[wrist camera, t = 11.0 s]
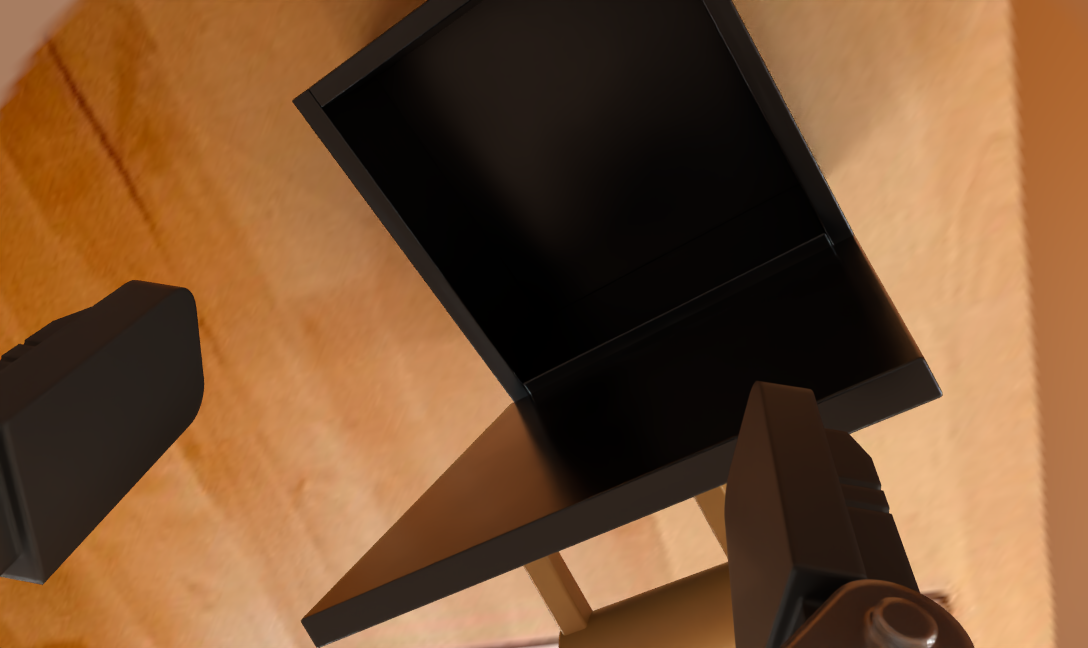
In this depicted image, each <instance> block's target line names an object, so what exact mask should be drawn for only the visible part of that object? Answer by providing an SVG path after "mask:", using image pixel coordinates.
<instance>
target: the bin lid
mask: <svg viewBox="0 0 1088 648" xmlns="http://www.w3.org/2000/svg"><path fill="white" fill-rule="evenodd" d="M756 381H762V382H768V383H775V384H781V385H787V386H793V387H800V388H806V389H811V390H812V391H813V393H814V395H815V399H816V402H817V406H818V409H819V413H820V416H821V420H822V423H823V426H824V428H826V429H833V430H839V431H845V432H848V433H849V434H851V433H853V432H856V431H858V430H861V429H863V428H866V427H868V426H871V425H873V424H875V423H878V422H880V421H883V420H885V419H888V418H890V417H893V416H895V415H898V414H900V413H903V412H905V411H908V410H910V409H913V408H915V407H918V406H920V405H923V404H925V403H928V402H930V401H933V400H935V399H937V398H940V397H941V396H942V391H941V389H940V387H939V385H938V383H937V381H936V379H935V377H934V376H933V374H932V372H931V370H930V368H929V366H928V364H927V362H926V360H925V358H924V357H923V355H922V353H921V351H920V350H919V348H918V346H917V344H916V343H915V341H914V339H913V337H912V335H911V334H910V332H909V330H908V328H907V327H906V325H905V323H904V321H903V320H902V318H901V316H900V314H899V313H898V311H897V309H896V307H895V305H894V304H893V302H892V300H891V298H890V297H889V295H888V293H887V291H886V290H885V288H884V286H883V284H882V283H881V281H880V279H879V277H878V275H877V274H876V272H875V270H874V268H873V267H872V265H871V263H870V261H869V260H868V258H867V256H866V254H865V253H864V251H863V249H862V247H861V245H860V244H859V242H858V240H857V238H856V237H855V236H851V237H849V238H847V239H845V240H843V241H841V242H839V243H837V244H835V245H833V246H831V247H829V248H827V249H825V250H823V251H821V252H818V253H816V254H814V255H812V256H810V257H808V258H806V259H804V260H802V261H800V262H798V263H796V264H794V265H792V266H790V267H788V268H786V269H784V270H782V271H780V272H778V273H776V274H774V275H772V276H770V277H768V278H766V279H764V280H762V281H760V282H758V283H756V284H753V285H751V286H749V287H747V288H745V289H743V290H741V291H739V292H737V293H735V294H733V295H731V296H729V297H727V298H725V299H723V300H721V301H719V302H717V303H715V304H713V305H711V306H709V307H707V308H705V309H703V310H701V311H699V312H697V313H695V314H693V315H690V316H688V317H686V318H684V319H682V320H680V321H678V322H676V323H674V324H672V325H670V326H668V327H666V328H664V329H662V330H660V331H658V332H656V333H654V334H652V335H650V336H648V337H646V338H644V339H642V340H640V341H638V342H636V343H634V344H632V345H630V346H627V347H625V348H623V349H621V350H619V351H617V352H615V353H613V354H611V355H609V356H607V357H605V358H603V359H601V360H599V361H597V362H595V363H593V364H591V365H589V366H587V367H585V368H583V369H581V370H579V371H577V372H575V373H573V374H571V375H569V376H567V377H565V378H562V379H560V380H558V381H556V382H554V383H552V384H550V385H548V386H546V387H544V388H542V389H540V390H538V391H536V392H534V393H532V394H530V395H528V396H526V397H524V398H522V399H520V400H518V401H516V402H514V403H512V404H510V405H509V406H508V407H507V408H506V409H505V410H504V412H503V413H502V414H501V415H500V416H499V417H498V418H497V419H496V420H495V421H494V422H493V423H492V424H491V425H490V426H489V427H488V428H487V429H486V430H485V431H484V432H483V433H482V434H481V435H480V436H479V437H478V438H477V439H476V440H475V441H474V442H473V443H472V444H471V446H470V447H469V448H468V449H467V450H466V451H465V452H464V453H463V454H462V455H461V456H460V457H459V458H458V459H457V460H456V461H455V462H454V463H453V464H452V465H451V466H450V467H449V468H448V469H447V470H446V471H445V472H444V473H443V474H442V475H441V476H440V477H439V478H438V479H437V481H436V482H435V483H434V484H433V485H432V486H431V487H430V488H429V489H428V490H427V491H426V492H425V493H424V494H423V495H422V496H421V497H420V498H419V499H418V500H417V501H416V502H415V503H414V504H413V505H412V506H411V507H410V508H409V509H408V510H407V511H406V512H405V513H404V515H403V516H402V517H401V518H400V519H399V520H398V521H397V522H396V523H395V524H394V525H393V526H392V527H391V528H390V529H389V530H388V531H387V532H386V533H385V534H384V535H383V536H382V537H381V538H380V539H379V540H378V541H377V542H376V543H375V544H374V545H373V546H372V547H371V548H370V550H369V551H368V552H367V553H366V554H365V555H364V556H363V557H362V558H361V559H360V560H359V561H358V562H357V563H356V564H355V565H354V566H353V567H352V568H351V569H350V570H349V571H348V572H347V573H346V574H345V575H344V576H343V577H342V578H341V579H340V580H339V581H338V582H337V584H336V585H335V586H334V587H333V588H332V589H331V590H330V591H329V592H328V593H327V594H326V595H325V596H324V597H323V598H322V599H321V600H320V601H319V602H318V603H317V604H316V605H315V606H314V607H313V608H312V609H311V610H310V611H309V612H308V613H307V614H306V615H305V616H304V617H303V619H302V620H301V623H302V624H303V626H304V628H305V629H306V631H307V633H308V634H309V636H310V638H311V639H312V641H313V643H314V644H315V646H316V647H317V648H320V647H323V646H325V645H327V644H330V643H332V642H335V641H337V640H340V639H342V638H345V637H347V636H350V635H352V634H355V633H357V632H360V631H362V630H365V629H367V628H370V627H372V626H375V625H377V624H380V623H382V622H384V621H387V620H389V619H392V618H394V617H397V616H399V615H402V614H404V613H407V612H409V611H412V610H414V609H417V608H419V607H422V606H424V605H427V604H429V603H432V602H434V601H437V600H439V599H442V598H444V597H446V596H449V595H451V594H454V593H456V592H459V591H461V590H464V589H466V588H469V587H471V586H474V585H476V584H479V583H481V582H484V581H486V580H489V579H491V578H494V577H496V576H499V575H501V574H504V573H506V572H508V571H511V570H513V569H516V568H518V567H521V566H524V568H525V570H526V571H527V573H528V575H529V577H530V578H531V580H532V582H533V584H534V585H535V587H536V589H537V590H538V592H539V594H540V596H541V597H542V599H543V601H544V603H545V604H546V606H547V608H548V610H549V611H550V613H551V615H552V616H553V618H554V620H555V622H556V623H557V625H558V627H559V629H560V634H559V648H736V646H735V635H734V623H733V611H732V600H731V588H730V576H729V565H728V562H726V563H723V564H721V565H718V566H715V567H712V568H710V569H707V570H704V571H701V572H699V573H696V574H693V575H690V576H688V577H685V578H682V579H679V580H677V581H674V582H671V583H669V584H666V585H663V586H660V587H658V588H655V589H652V590H649V591H647V592H644V593H641V594H638V595H636V596H633V597H630V598H628V599H625V600H622V601H619V602H617V603H614V604H611V605H608V606H606V607H603V608H600V609H597V610H595V611H592V609H591V607H590V606H589V604H588V602H587V600H586V599H585V597H584V595H583V593H582V592H581V590H580V588H579V586H578V585H577V583H576V581H575V579H574V578H573V576H572V574H571V572H570V571H569V569H568V567H567V565H566V564H565V562H564V560H563V558H562V557H561V555H560V553H559V551H561V550H563V549H566V548H568V547H570V546H573V545H575V544H578V543H580V542H583V541H585V540H588V539H590V538H593V537H595V536H598V535H600V534H603V533H605V532H608V531H610V530H613V529H615V528H618V527H620V526H623V525H625V524H628V523H630V522H632V521H635V520H637V519H640V518H642V517H645V516H647V515H650V514H652V513H655V512H657V511H660V510H662V509H665V508H667V507H670V506H672V505H675V504H677V503H680V502H682V501H685V500H687V499H689V498H692V497H694V498H695V500H696V502H697V504H698V506H699V507H700V509H701V511H702V513H703V515H704V516H705V518H706V520H707V522H708V524H709V525H710V527H711V529H712V531H713V533H714V534H715V536H716V538H717V540H718V542H719V543H720V545H721V547H722V549H723V551H724V552H725V554H726V556H727V558H728V553H727V542H726V530H725V518H724V505H725V493H726V485H727V479H728V474H729V470H730V466H731V463H732V459H733V455H734V451H735V447H736V444H737V440H738V436H739V432H740V428H741V425H742V421H743V417H744V413H745V409H746V406H747V402H748V398H749V395H750V392H751V389H752V386H753V384H754V383H755V382H756Z"/></svg>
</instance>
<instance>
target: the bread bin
mask: <svg viewBox="0 0 1088 648" xmlns="http://www.w3.org/2000/svg"><path fill="white" fill-rule="evenodd" d="M292 102H293V103H294V104H295V106H296V107H297V109H298V110H299V111H300V113H301V114H302V115H303V117H304V118H305V119H306V121H307V122H308V123H309V125H310V126H311V127H312V129H313V130H314V132H315V133H316V134H317V136H318V137H319V138H320V140H321V141H322V142H323V144H324V145H325V146H326V148H327V149H328V151H329V152H330V153H331V155H332V156H333V157H334V159H335V160H336V161H337V163H338V164H339V165H340V167H341V168H342V169H343V171H344V172H345V174H346V175H347V176H348V178H349V179H350V180H351V182H352V183H353V184H354V186H355V187H356V188H357V190H358V191H359V192H360V194H361V195H362V197H363V198H364V199H365V201H366V202H367V203H368V205H369V206H370V207H371V209H372V210H373V211H374V213H375V214H376V216H377V217H378V218H379V220H380V221H381V222H382V224H383V225H384V226H385V228H386V229H387V230H388V232H389V233H390V234H391V236H392V237H393V239H394V240H395V241H396V243H397V244H398V245H399V247H400V248H401V249H402V251H403V252H404V253H405V255H406V256H407V258H408V259H409V260H410V262H411V263H412V264H413V266H414V267H415V268H416V270H417V271H418V272H419V274H420V275H421V276H422V278H423V279H424V281H425V282H426V283H427V285H428V286H429V287H430V289H431V290H432V291H433V293H434V294H435V295H436V297H437V298H438V299H439V301H440V302H441V304H442V305H443V306H444V308H445V309H446V310H447V312H448V313H449V314H450V316H451V317H452V318H453V320H454V321H455V323H456V324H457V325H458V327H459V328H460V329H461V331H462V332H463V333H464V335H465V336H466V337H467V339H468V340H469V341H470V343H471V344H472V346H473V347H474V348H475V350H476V351H477V352H478V354H479V355H480V356H481V358H482V359H483V360H484V362H485V363H486V365H487V366H488V367H489V369H490V370H491V371H492V373H493V374H494V375H495V377H496V378H497V379H498V381H499V382H500V383H501V385H502V386H503V388H504V389H505V390H506V392H507V393H508V394H509V396H510V397H511V398H512V400H513V401H514V402H516V401H518V400H520V399H522V398H524V397H526V396H528V395H530V394H532V393H534V392H536V391H538V390H540V389H542V388H544V387H546V386H548V385H550V384H552V383H554V382H556V381H558V380H560V379H562V378H565V377H567V376H569V375H571V374H573V373H575V372H577V371H579V370H581V369H583V368H585V367H587V366H589V365H591V364H593V363H595V362H597V361H599V360H601V359H603V358H605V357H607V356H609V355H611V354H613V353H615V352H617V351H619V350H621V349H623V348H625V347H627V346H630V345H632V344H634V343H636V342H638V341H640V340H642V339H644V338H646V337H648V336H650V335H652V334H654V333H656V332H658V331H660V330H662V329H664V328H666V327H668V326H670V325H672V324H674V323H676V322H678V321H680V320H682V319H684V318H686V317H688V316H690V315H693V314H695V313H697V312H699V311H701V310H703V309H705V308H707V307H709V306H711V305H713V304H715V303H717V302H719V301H721V300H723V299H725V298H727V297H729V296H731V295H733V294H735V293H737V292H739V291H741V290H743V289H745V288H747V287H749V286H751V285H753V284H756V283H758V282H760V281H762V280H764V279H766V278H768V277H770V276H772V275H774V274H776V273H778V272H780V271H782V270H784V269H786V268H788V267H790V266H792V265H794V264H796V263H798V262H800V261H802V260H804V259H806V258H808V257H810V256H812V255H814V254H816V253H818V252H821V251H823V250H825V249H827V248H829V247H831V246H833V245H835V244H837V243H839V242H841V241H843V240H845V239H847V238H849V237H851V236H855V235H854V233H853V231H852V229H851V227H850V225H849V223H848V222H847V220H846V218H845V216H844V214H843V212H842V210H841V208H840V206H839V204H838V202H837V201H836V199H835V197H834V195H833V193H832V191H831V189H830V187H829V185H828V183H827V181H826V180H825V178H824V176H823V174H822V172H821V170H820V168H819V166H818V164H817V162H816V160H815V159H814V157H813V155H812V153H811V151H810V149H809V147H808V145H807V143H806V141H805V139H804V137H803V136H802V134H801V132H800V130H799V128H798V126H797V124H796V122H795V120H794V118H793V116H792V115H791V113H790V111H789V109H788V107H787V105H786V103H785V101H784V99H783V97H782V95H781V94H780V92H779V90H778V88H777V86H776V84H775V82H774V80H773V78H772V76H771V74H770V73H769V71H768V69H767V67H766V65H765V63H764V61H763V59H762V57H761V55H760V53H759V51H758V50H757V48H756V46H755V44H754V42H753V40H752V38H751V36H750V34H749V32H748V30H747V29H746V27H745V25H744V23H743V21H742V19H741V17H740V15H739V13H738V11H737V9H736V8H735V6H734V4H733V2H732V0H427V1H426V2H425V3H423V4H422V5H421V6H419V7H418V8H416V9H415V10H414V11H412V12H411V13H410V14H408V15H407V16H406V17H404V18H403V19H402V20H400V21H399V22H398V23H396V24H395V25H393V26H392V27H391V28H389V29H388V30H387V31H385V32H384V33H383V34H381V35H380V36H379V37H377V38H376V39H375V40H373V41H372V42H371V43H369V44H368V45H366V46H365V47H364V48H362V49H361V50H360V51H358V52H357V53H356V54H354V55H353V56H352V57H350V58H349V59H348V60H346V61H345V62H344V63H342V64H341V65H339V66H338V67H337V68H335V69H334V70H333V71H331V72H330V73H329V74H327V75H326V76H325V77H323V78H322V79H321V80H319V81H318V82H316V83H315V84H314V85H312V86H311V87H310V88H309V89H307V90H306V91H304V92H303V93H302V94H300V95H299V96H298V97H296V98H295V99H293V101H292Z"/></svg>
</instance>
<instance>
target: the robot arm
mask: <svg viewBox="0 0 1088 648" xmlns="http://www.w3.org/2000/svg"><path fill="white" fill-rule="evenodd" d="M203 392H204V376H203V366H202V357H201V347H200V338H199V328H198V319H197V310H196V303H195V299H194V297H193V295H192V293H191V292H190V291H189V290H188V289H186V288H183V287H177V286H170V285H164V284H158V283H152V282H145V281H139V280H132V281H129V282H127V283H126V284H124V285H123V286H121V287H120V288H118V289H117V290H115V291H114V292H113V293H111V294H110V295H108V296H107V297H105V298H104V299H103V300H101V301H100V302H98V303H97V304H95V305H94V306H93V307H90V308H87V309H84V310H82V311H79V312H76V313H73V314H71V315H68V316H65V317H63V318H60V319H57V320H55V321H52V322H51V323H49V324H48V325H46V326H45V327H43V328H42V329H41V330H39V331H38V332H36V333H35V334H33V335H32V336H30V337H29V338H27V339H26V340H25V343H24V345H22V344H18V345H17V346H15V347H14V348H12V349H11V350H9V351H8V352H7V353H5V354H4V355H2V358H1V360H0V577H5V578H11V579H16V580H21V581H26V582H32V583H37V584H42V585H43V584H44V583H45V582H46V581H47V580H48V578H49V577H50V576H51V575H52V574H53V573H54V572H55V571H56V570H57V569H58V568H59V567H60V565H61V564H62V563H63V562H64V561H65V560H66V559H67V558H68V557H69V556H70V555H71V553H72V552H73V551H74V550H75V549H76V548H77V547H78V546H79V545H80V544H81V543H82V542H83V540H84V539H85V538H86V537H87V536H88V535H89V534H90V533H91V532H92V531H93V530H94V529H95V527H96V526H97V525H98V524H99V523H100V522H101V521H102V520H103V519H104V518H105V517H106V516H107V514H108V513H109V512H110V511H111V510H112V509H113V508H114V507H115V506H116V505H117V504H118V503H119V501H120V500H121V499H122V498H123V497H124V496H125V495H126V494H127V493H128V492H129V491H130V489H131V488H132V487H133V486H134V485H135V484H136V483H137V482H138V481H139V480H140V479H141V478H142V476H143V475H144V474H145V473H146V472H147V471H148V470H149V469H150V468H151V467H152V466H153V465H154V463H155V462H156V461H157V460H158V459H159V458H160V457H161V456H162V455H163V454H164V453H165V452H166V450H167V449H168V448H169V447H170V446H171V445H172V444H173V443H174V442H175V441H176V440H177V439H178V437H179V436H180V435H181V434H182V433H183V432H184V431H185V430H186V429H187V428H188V427H189V425H190V424H191V423H192V422H193V420H194V419H195V417H196V415H197V413H198V411H199V408H200V406H201V402H202V398H203ZM724 518H725V530H726V542H727V553H728V565H729V576H730V588H731V600H732V611H733V623H734V635H735V646H736V648H974V645H973V643H972V641H971V639H970V637H969V636H968V634H967V632H966V631H965V630H964V628H963V627H962V626H961V625H960V623H959V622H958V621H957V620H956V619H955V618H954V617H953V616H952V615H951V614H950V613H949V612H947V611H946V610H945V609H944V608H943V607H941V606H940V605H939V604H937V603H936V602H934V601H933V600H931V599H930V598H928V597H926V596H924V595H923V594H921V593H920V591H919V588H918V586H917V583H916V580H915V577H914V575H913V572H912V569H911V566H910V563H909V561H908V558H907V555H906V552H905V550H904V547H903V544H902V541H901V538H900V536H899V533H898V530H897V527H896V525H895V522H894V519H893V516H892V514H889V505H888V502H887V500H886V497H885V494H884V491H882V490H881V483H880V480H879V477H878V475H877V472H876V469H875V466H874V463H873V461H872V458H871V457H870V456H869V455H868V454H867V453H866V452H865V450H864V449H863V448H862V447H861V446H860V445H859V444H858V443H857V442H856V441H855V440H854V439H853V438H852V437H851V435H850V434H849V433H848V432H845V431H839V430H833V429H826V428H824V426H823V423H822V420H821V416H820V413H819V409H818V406H817V402H816V399H815V395H814V393H813V391H812V390H811V389H806V388H800V387H793V386H787V385H781V384H775V383H768V382H762V381H756V382H755V383H754V384H753V386H752V389H751V392H750V395H749V398H748V402H747V406H746V409H745V413H744V417H743V421H742V425H741V428H740V432H739V436H738V440H737V444H736V447H735V451H734V455H733V459H732V463H731V466H730V470H729V474H728V479H727V485H726V493H725V505H724Z"/></svg>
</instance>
